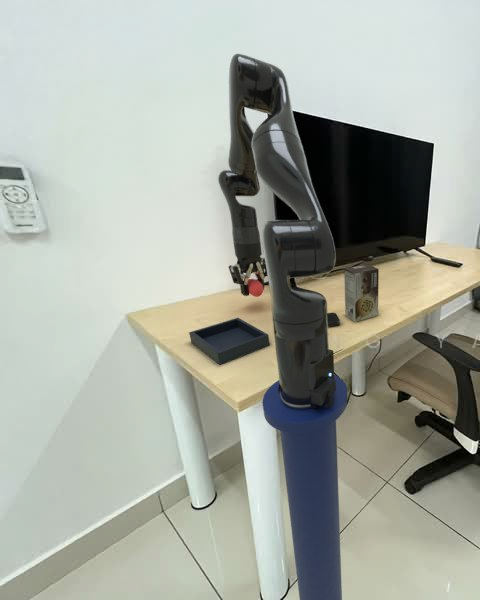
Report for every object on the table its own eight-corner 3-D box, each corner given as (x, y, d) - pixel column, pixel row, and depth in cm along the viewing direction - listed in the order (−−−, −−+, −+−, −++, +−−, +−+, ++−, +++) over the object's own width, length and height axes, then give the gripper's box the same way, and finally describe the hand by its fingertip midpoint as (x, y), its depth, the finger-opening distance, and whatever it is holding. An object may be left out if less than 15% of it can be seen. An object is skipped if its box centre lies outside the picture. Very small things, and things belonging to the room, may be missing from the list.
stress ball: (262, 293, 107) (251, 277, 105) (269, 290, 100) (258, 273, 98) (248, 301, 104) (236, 285, 102) (255, 299, 97) (243, 281, 95)
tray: (269, 345, 81) (268, 334, 80) (219, 365, 72) (217, 353, 71) (239, 327, 90) (238, 317, 89) (191, 342, 81) (188, 332, 79)
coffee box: (367, 309, 107) (368, 263, 101) (378, 315, 102) (379, 268, 97) (344, 315, 101) (343, 267, 95) (355, 322, 97) (354, 272, 91)
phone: (340, 321, 94) (288, 328, 88) (340, 325, 94) (288, 331, 88) (335, 312, 100) (286, 317, 95) (335, 315, 101) (286, 320, 95)
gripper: (236, 245, 88) (244, 301, 94) (273, 238, 101) (278, 288, 106) (217, 242, 91) (226, 297, 96) (255, 236, 103) (261, 285, 109)
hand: (253, 292), depth 101 cm, fingers closed on stress ball, 5 cm apart
